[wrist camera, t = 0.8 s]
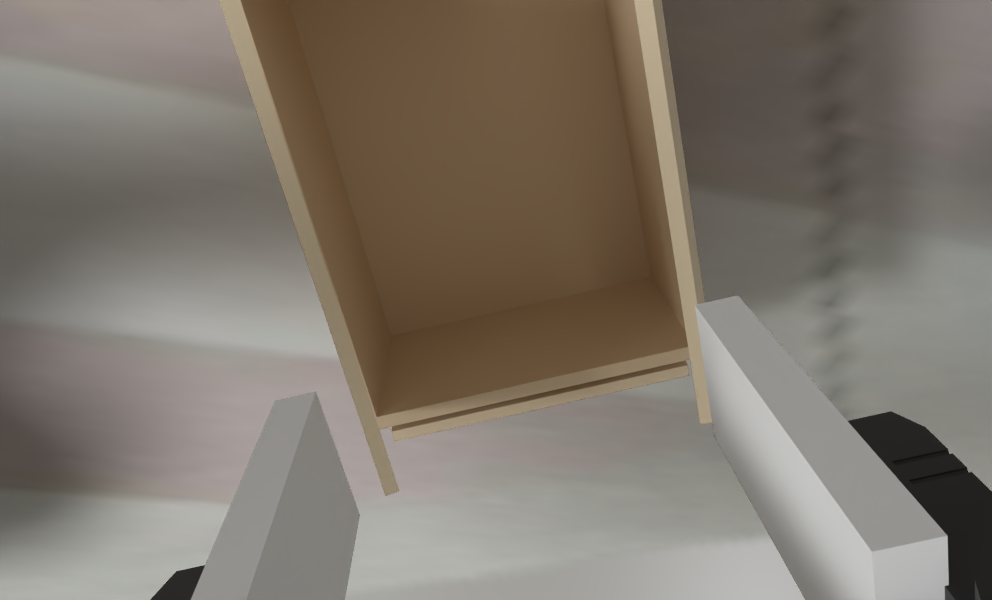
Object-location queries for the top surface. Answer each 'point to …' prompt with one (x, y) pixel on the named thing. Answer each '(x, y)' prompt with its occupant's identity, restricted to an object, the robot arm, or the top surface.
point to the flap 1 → (307, 236)
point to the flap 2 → (674, 183)
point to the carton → (480, 198)
